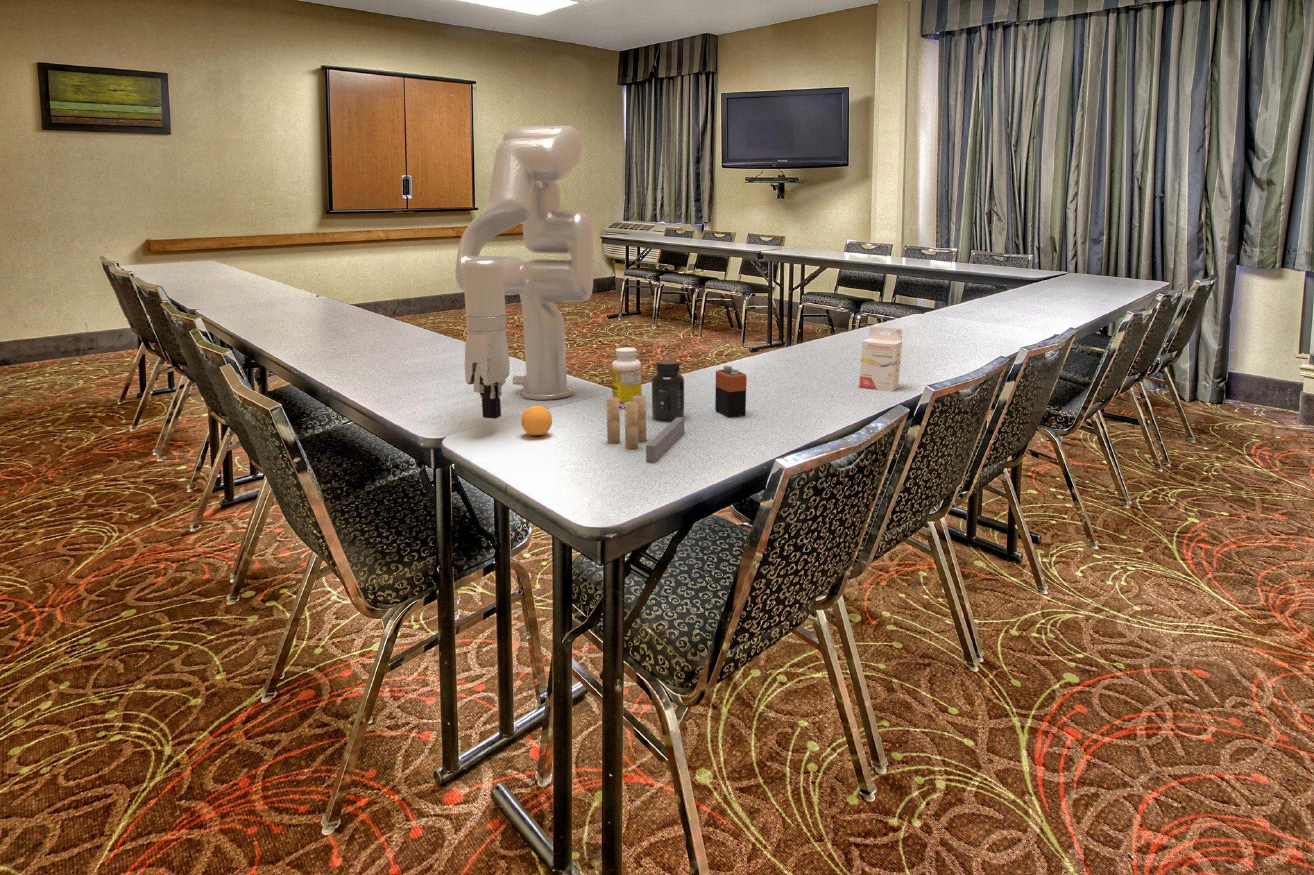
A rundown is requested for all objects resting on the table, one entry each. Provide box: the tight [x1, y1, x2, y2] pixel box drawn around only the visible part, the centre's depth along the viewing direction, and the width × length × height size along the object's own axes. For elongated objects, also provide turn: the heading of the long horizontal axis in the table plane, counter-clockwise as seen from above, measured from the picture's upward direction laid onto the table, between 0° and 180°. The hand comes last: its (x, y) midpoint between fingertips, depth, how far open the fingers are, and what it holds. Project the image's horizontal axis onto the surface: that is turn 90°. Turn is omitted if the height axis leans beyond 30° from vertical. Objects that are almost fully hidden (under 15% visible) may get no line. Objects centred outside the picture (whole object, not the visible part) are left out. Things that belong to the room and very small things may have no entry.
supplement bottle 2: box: [651, 359, 685, 422], centre depth 165 cm, size 7×7×12 cm
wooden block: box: [605, 396, 621, 445], centre depth 149 cm, size 2×2×8 cm
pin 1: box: [624, 402, 639, 450], centre depth 145 cm, size 2×2×8 cm
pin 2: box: [633, 395, 647, 443], centre depth 150 cm, size 2×2×8 cm
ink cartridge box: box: [858, 325, 903, 392], centre depth 190 cm, size 9×5×15 cm, turn 58°
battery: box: [714, 365, 747, 418], centre depth 168 cm, size 4×7×10 cm, turn 21°
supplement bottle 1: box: [611, 347, 643, 407], centre depth 176 cm, size 7×7×13 cm
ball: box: [520, 405, 553, 436], centre depth 153 cm, size 6×6×6 cm
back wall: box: [645, 417, 685, 463], centre depth 146 cm, size 2×20×3 cm, turn 163°
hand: (492, 417), depth 155 cm, fingers closed
